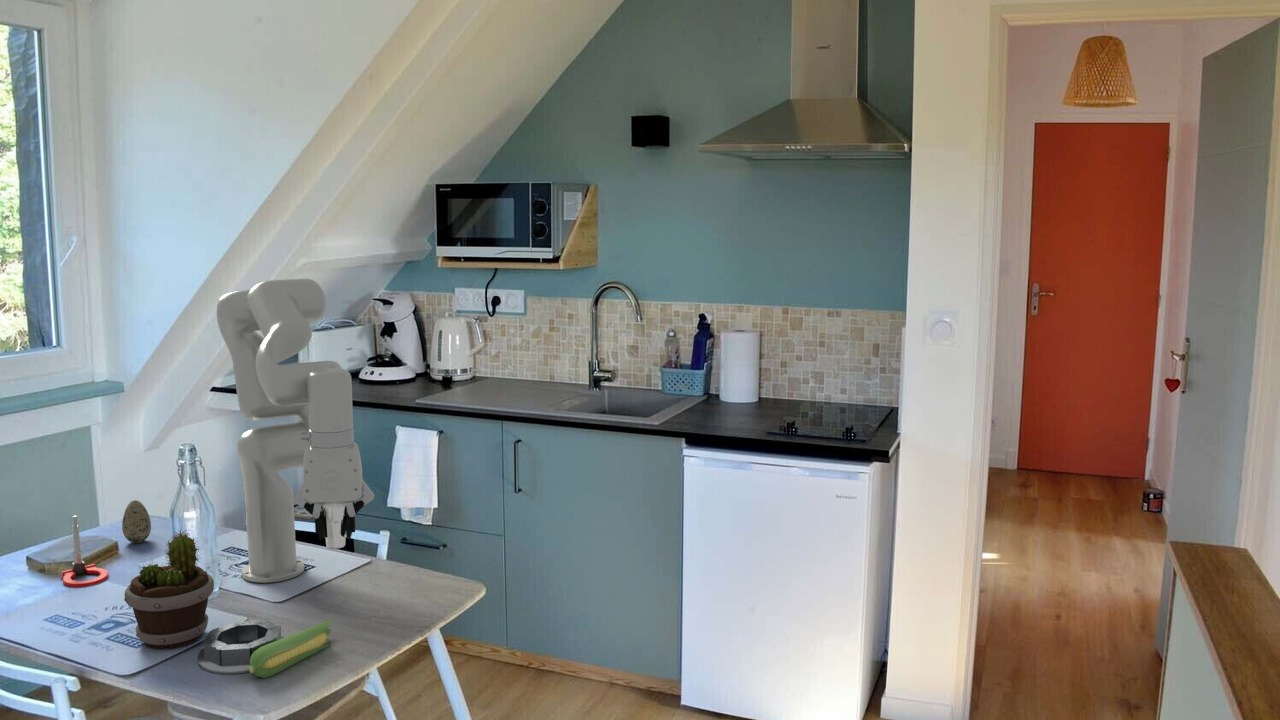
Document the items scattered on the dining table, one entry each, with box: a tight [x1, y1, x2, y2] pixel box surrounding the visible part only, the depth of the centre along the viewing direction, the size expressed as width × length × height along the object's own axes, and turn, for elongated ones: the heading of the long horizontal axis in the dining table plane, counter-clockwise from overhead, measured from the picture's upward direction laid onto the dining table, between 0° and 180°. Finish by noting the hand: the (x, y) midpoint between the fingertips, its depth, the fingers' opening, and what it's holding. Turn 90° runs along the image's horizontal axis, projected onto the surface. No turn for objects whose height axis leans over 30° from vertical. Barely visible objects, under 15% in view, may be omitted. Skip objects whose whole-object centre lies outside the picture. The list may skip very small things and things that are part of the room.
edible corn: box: [249, 620, 333, 679], centre depth 183 cm, size 5×20×4 cm
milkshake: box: [321, 503, 348, 550], centre depth 190 cm, size 4×5×10 cm
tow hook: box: [60, 515, 110, 588], centre depth 218 cm, size 8×13×9 cm
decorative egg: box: [121, 499, 152, 544], centre depth 241 cm, size 6×6×10 cm
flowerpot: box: [123, 527, 215, 650], centre depth 190 cm, size 14×15×20 cm
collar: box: [197, 619, 285, 675], centre depth 185 cm, size 15×15×4 cm
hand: (335, 535), depth 190 cm, fingers closed on milkshake, 4 cm apart
